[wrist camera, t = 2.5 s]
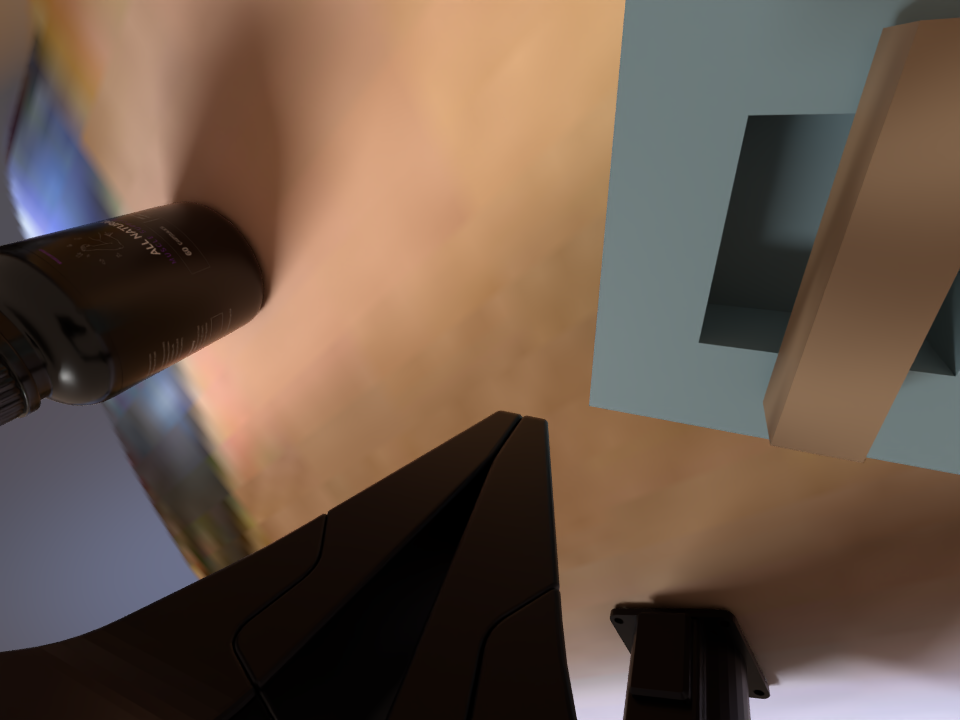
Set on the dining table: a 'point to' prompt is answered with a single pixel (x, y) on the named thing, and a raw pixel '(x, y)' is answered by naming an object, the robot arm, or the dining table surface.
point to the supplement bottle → (118, 303)
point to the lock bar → (876, 251)
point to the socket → (742, 212)
